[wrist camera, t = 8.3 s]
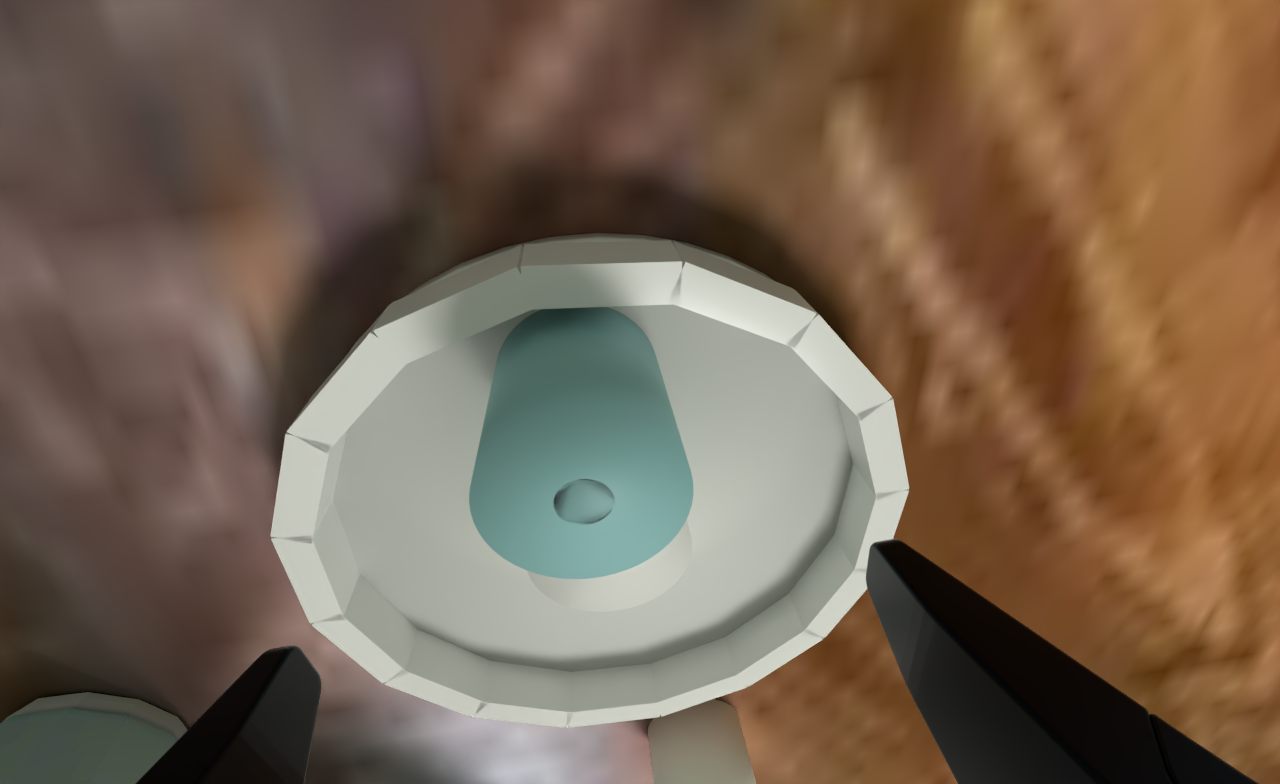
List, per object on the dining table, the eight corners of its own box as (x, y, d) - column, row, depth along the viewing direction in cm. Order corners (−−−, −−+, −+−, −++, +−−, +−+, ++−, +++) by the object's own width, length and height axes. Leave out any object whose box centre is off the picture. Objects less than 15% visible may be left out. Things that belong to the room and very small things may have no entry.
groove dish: (498, 714, 24) (493, 774, 22) (162, 397, 15) (99, 451, 13) (900, 571, 23) (933, 623, 21) (799, 110, 13) (843, 122, 11)
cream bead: (666, 759, 28) (684, 884, 24) (633, 718, 26) (647, 848, 22) (748, 732, 28) (782, 854, 24) (722, 687, 26) (754, 814, 21)
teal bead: (687, 345, 15) (736, 459, 11) (610, 462, 17) (626, 599, 13) (538, 272, 14) (527, 372, 10) (469, 409, 16) (435, 544, 11)
